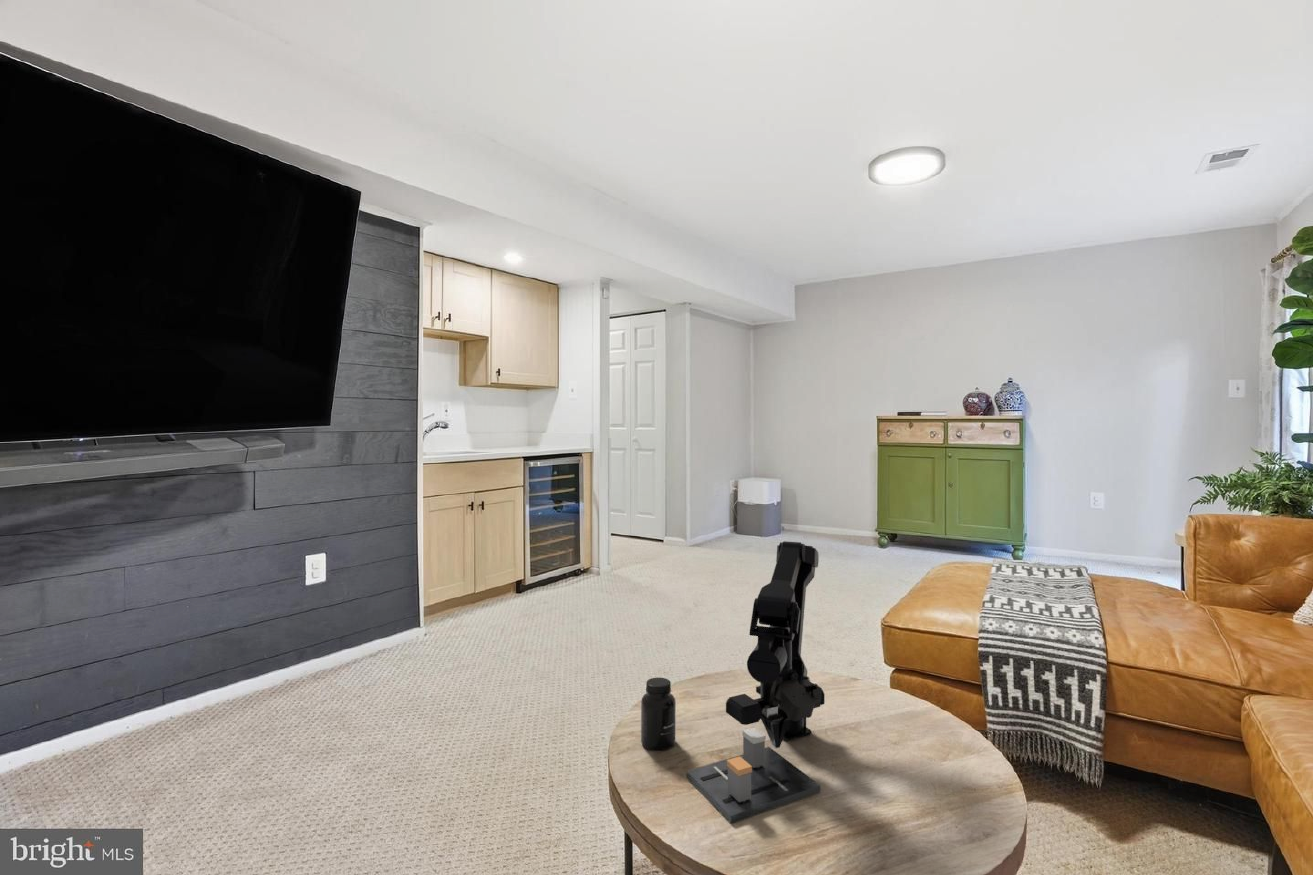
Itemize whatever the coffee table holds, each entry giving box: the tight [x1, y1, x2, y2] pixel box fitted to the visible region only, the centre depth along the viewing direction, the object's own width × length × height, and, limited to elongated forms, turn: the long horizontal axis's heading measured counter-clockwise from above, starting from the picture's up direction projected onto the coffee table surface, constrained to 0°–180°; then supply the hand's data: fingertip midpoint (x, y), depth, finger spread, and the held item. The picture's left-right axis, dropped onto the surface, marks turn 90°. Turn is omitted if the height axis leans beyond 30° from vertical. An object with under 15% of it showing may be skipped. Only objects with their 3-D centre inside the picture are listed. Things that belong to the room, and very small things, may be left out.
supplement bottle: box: [640, 677, 677, 751], centre depth 117 cm, size 7×7×12 cm
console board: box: [686, 746, 821, 825], centre depth 102 cm, size 18×14×1 cm
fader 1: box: [727, 755, 752, 802], centre depth 97 cm, size 3×3×5 cm
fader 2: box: [741, 727, 766, 768], centre depth 107 cm, size 3×3×5 cm
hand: (776, 746), depth 109 cm, fingers closed
